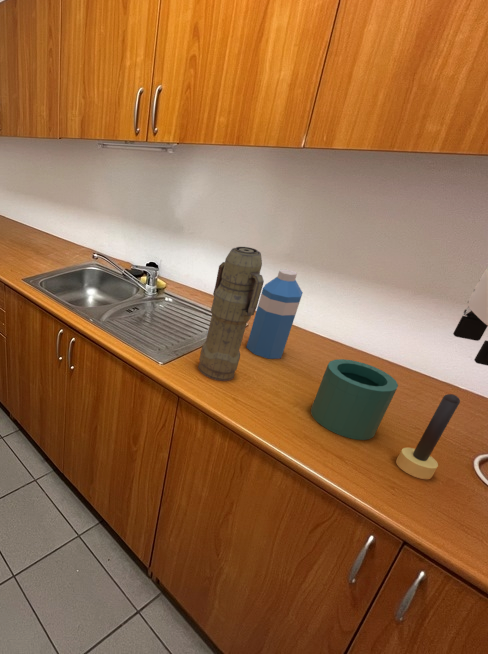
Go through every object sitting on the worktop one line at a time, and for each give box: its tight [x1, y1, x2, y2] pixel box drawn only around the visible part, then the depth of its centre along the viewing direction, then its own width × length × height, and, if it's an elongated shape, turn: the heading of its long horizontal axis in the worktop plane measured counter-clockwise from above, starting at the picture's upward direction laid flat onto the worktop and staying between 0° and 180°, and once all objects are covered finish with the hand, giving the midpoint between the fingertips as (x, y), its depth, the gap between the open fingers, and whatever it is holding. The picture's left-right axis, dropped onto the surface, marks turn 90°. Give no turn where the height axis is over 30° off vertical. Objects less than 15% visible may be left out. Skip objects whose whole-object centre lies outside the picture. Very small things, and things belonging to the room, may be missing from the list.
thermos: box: [197, 246, 265, 382], centre depth 101 cm, size 9×12×35 cm
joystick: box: [395, 393, 461, 480], centre depth 74 cm, size 5×5×18 cm
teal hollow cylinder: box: [310, 358, 399, 441], centre depth 87 cm, size 11×11×13 cm
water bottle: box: [245, 268, 303, 360], centre depth 112 cm, size 9×9×25 cm
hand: (476, 350), depth 67 cm, fingers open, 9 cm apart
